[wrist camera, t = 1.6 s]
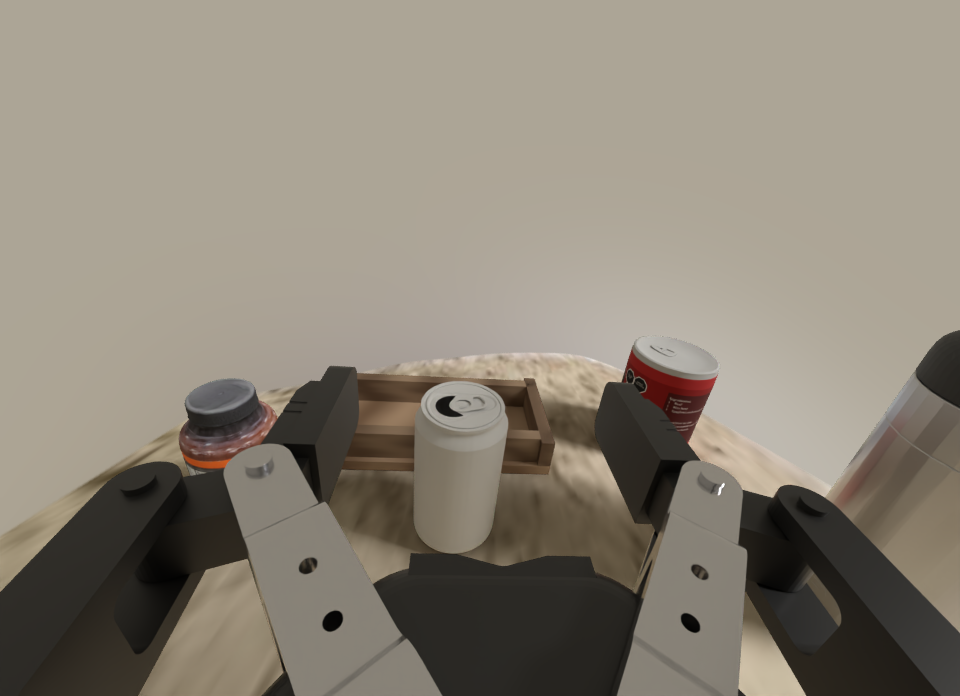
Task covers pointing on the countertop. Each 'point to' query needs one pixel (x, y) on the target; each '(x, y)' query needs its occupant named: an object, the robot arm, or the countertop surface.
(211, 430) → the supplement bottle
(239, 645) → the countertop surface
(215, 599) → the countertop surface
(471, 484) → the beverage can
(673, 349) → the canned food
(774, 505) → the robot arm
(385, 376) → the wooden tray
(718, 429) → the countertop surface
